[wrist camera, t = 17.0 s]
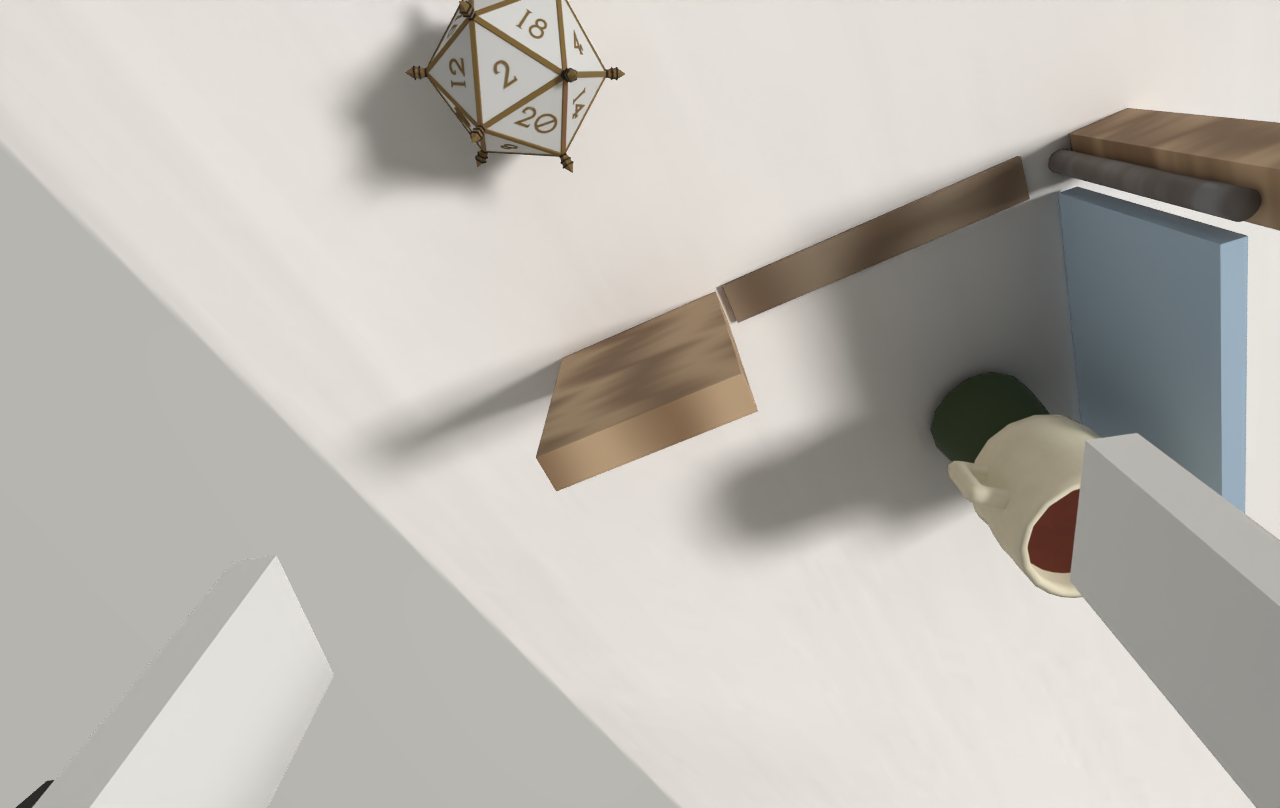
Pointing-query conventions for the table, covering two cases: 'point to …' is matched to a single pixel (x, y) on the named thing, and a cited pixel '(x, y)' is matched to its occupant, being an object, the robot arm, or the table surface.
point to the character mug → (1017, 472)
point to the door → (1160, 332)
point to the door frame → (700, 333)
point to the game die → (517, 75)
